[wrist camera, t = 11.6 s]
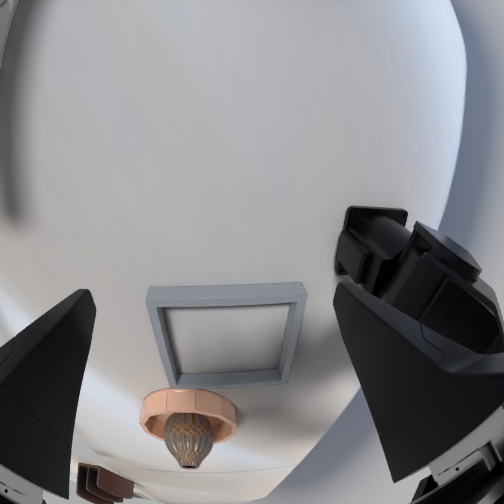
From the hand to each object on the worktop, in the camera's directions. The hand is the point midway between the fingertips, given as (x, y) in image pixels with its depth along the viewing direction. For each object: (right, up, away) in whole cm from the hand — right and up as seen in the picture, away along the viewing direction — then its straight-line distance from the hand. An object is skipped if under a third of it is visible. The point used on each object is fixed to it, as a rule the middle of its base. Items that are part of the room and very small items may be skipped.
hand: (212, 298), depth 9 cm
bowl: (-8, -21, +25) cm, 34 cm away
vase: (-8, -21, +24) cm, 33 cm away
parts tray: (-1, -7, +18) cm, 19 cm away
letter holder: (-48, -73, +48) cm, 99 cm away
